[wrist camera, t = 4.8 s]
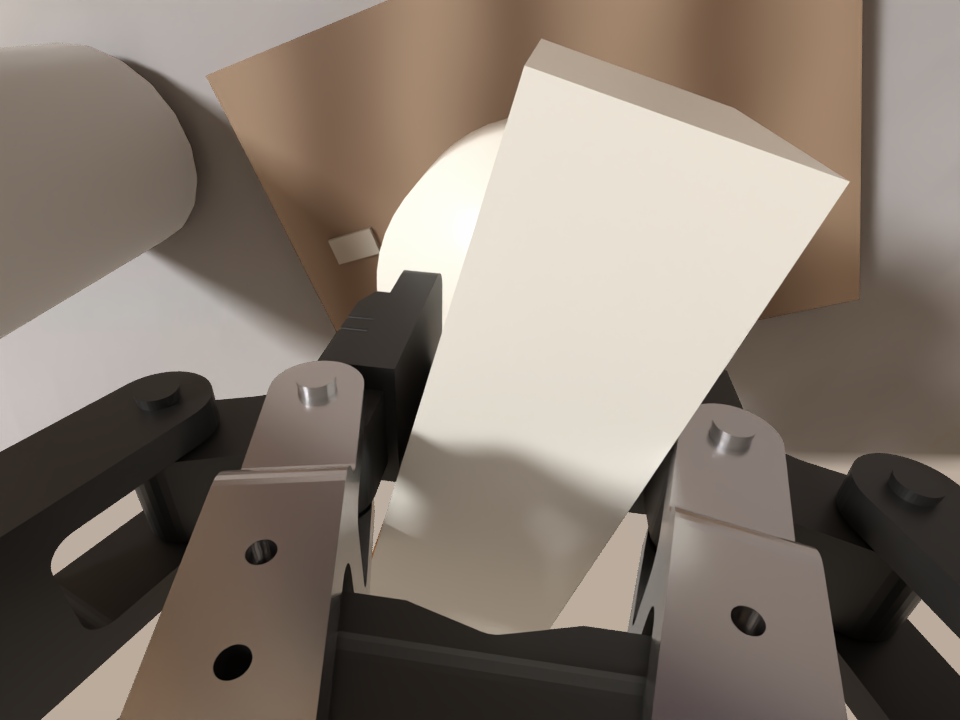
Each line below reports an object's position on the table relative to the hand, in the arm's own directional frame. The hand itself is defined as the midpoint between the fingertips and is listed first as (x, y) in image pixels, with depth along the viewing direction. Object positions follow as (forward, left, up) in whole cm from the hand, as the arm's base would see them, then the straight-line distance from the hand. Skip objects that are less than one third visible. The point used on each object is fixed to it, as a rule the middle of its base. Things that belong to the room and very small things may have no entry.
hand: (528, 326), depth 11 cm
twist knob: (0, 0, -4) cm, 4 cm away
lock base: (0, 0, -12) cm, 12 cm away
